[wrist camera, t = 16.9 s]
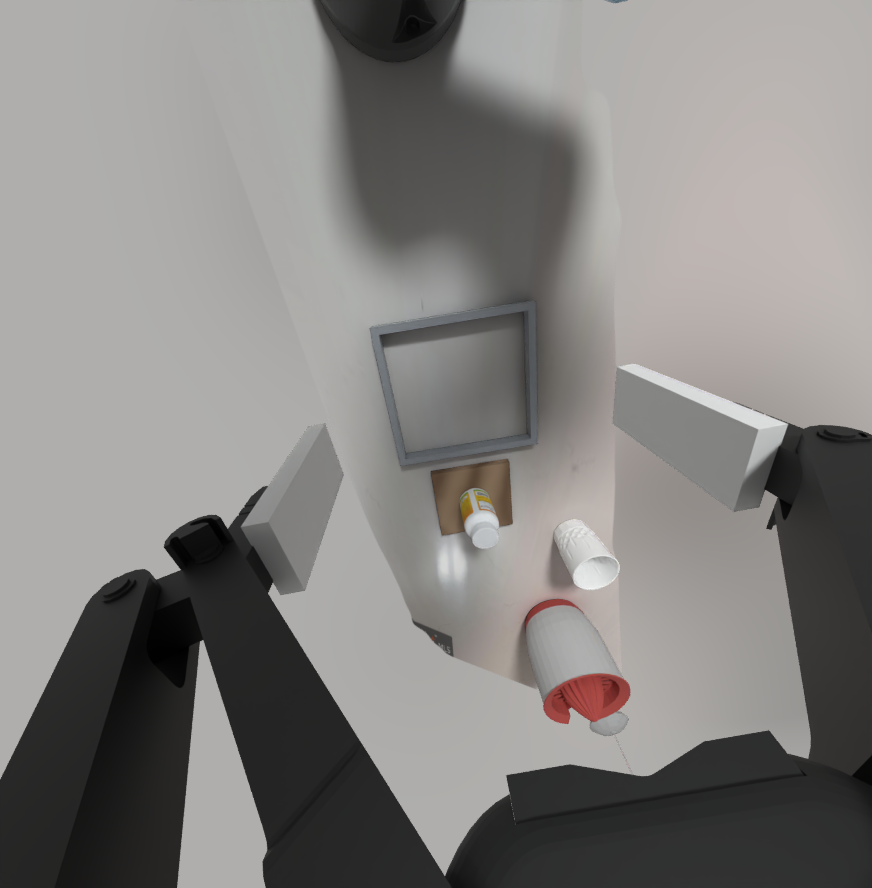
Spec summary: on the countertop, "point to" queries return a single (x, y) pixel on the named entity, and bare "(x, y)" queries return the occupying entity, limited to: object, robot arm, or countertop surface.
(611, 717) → the french press
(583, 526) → the white cup
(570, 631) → the citrus juicer
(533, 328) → the tray frame
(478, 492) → the supplement bottle
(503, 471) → the walnut board
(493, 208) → the countertop surface
